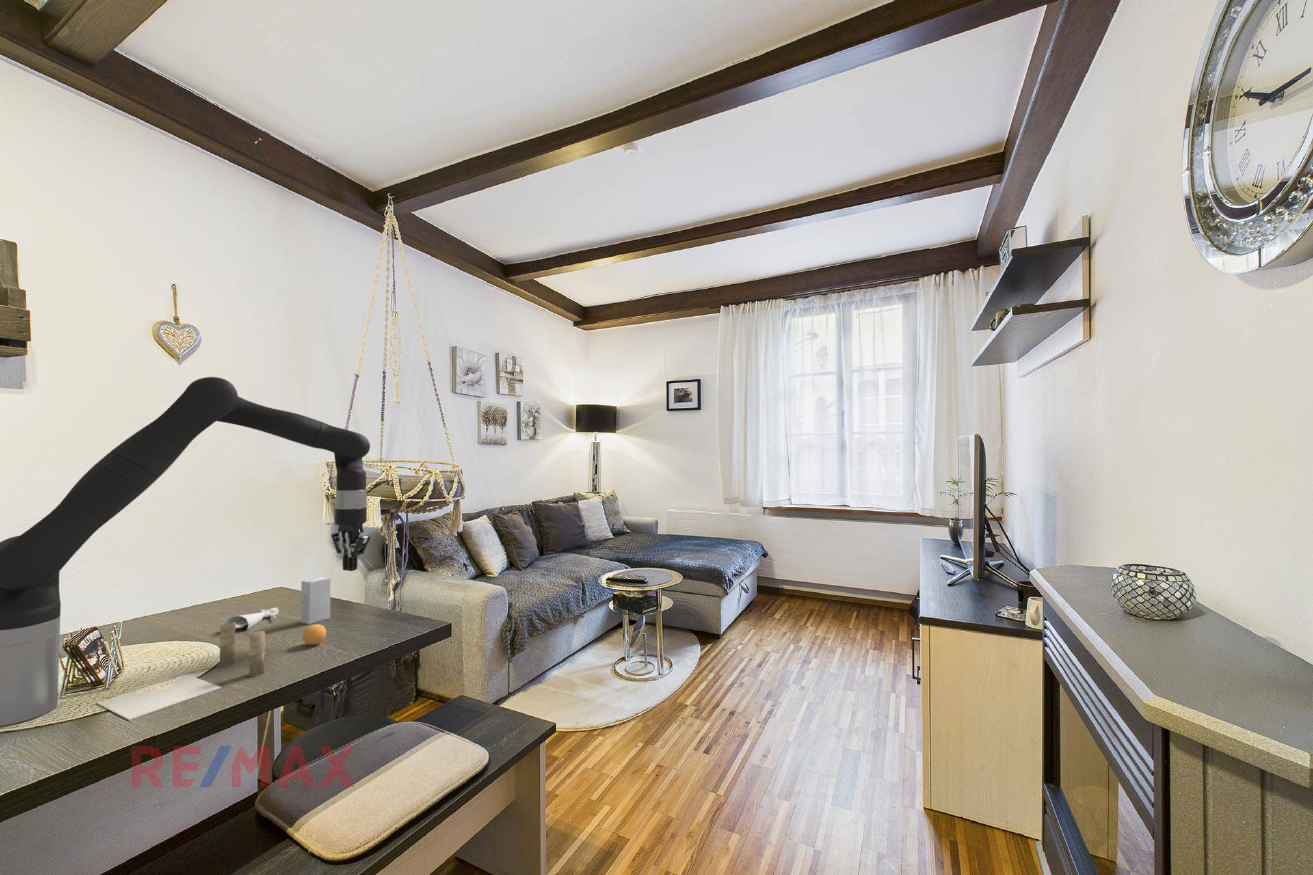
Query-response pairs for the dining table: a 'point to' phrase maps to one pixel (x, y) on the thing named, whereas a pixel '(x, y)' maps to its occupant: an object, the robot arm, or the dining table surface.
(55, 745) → the dining table surface
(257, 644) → the right post
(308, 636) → the brown egg
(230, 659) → the left post
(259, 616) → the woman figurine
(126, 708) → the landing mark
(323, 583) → the skincare box
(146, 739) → the dining table surface
